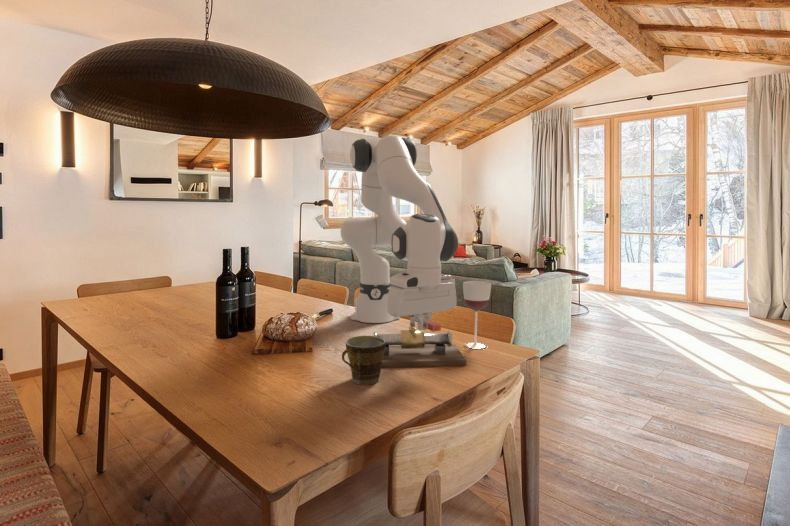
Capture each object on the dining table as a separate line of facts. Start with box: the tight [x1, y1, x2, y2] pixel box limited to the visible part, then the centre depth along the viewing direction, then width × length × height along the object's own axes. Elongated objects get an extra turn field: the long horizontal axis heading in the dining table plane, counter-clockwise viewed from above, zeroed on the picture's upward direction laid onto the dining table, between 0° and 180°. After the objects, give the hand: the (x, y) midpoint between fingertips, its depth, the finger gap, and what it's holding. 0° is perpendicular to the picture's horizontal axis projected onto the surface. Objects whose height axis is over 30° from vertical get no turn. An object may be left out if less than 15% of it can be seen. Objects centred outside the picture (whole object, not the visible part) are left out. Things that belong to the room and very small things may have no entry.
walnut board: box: [381, 344, 467, 368], centre depth 131 cm, size 14×28×2 cm, turn 95°
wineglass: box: [462, 280, 492, 350], centre depth 141 cm, size 8×9×20 cm
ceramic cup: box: [341, 335, 386, 386], centre depth 112 cm, size 13×10×10 cm
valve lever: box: [408, 315, 442, 333], centre depth 124 cm, size 14×3×4 cm, turn 27°
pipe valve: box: [373, 326, 453, 356], centre depth 130 cm, size 5×22×8 cm, turn 95°
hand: (422, 329), depth 120 cm, fingers closed
